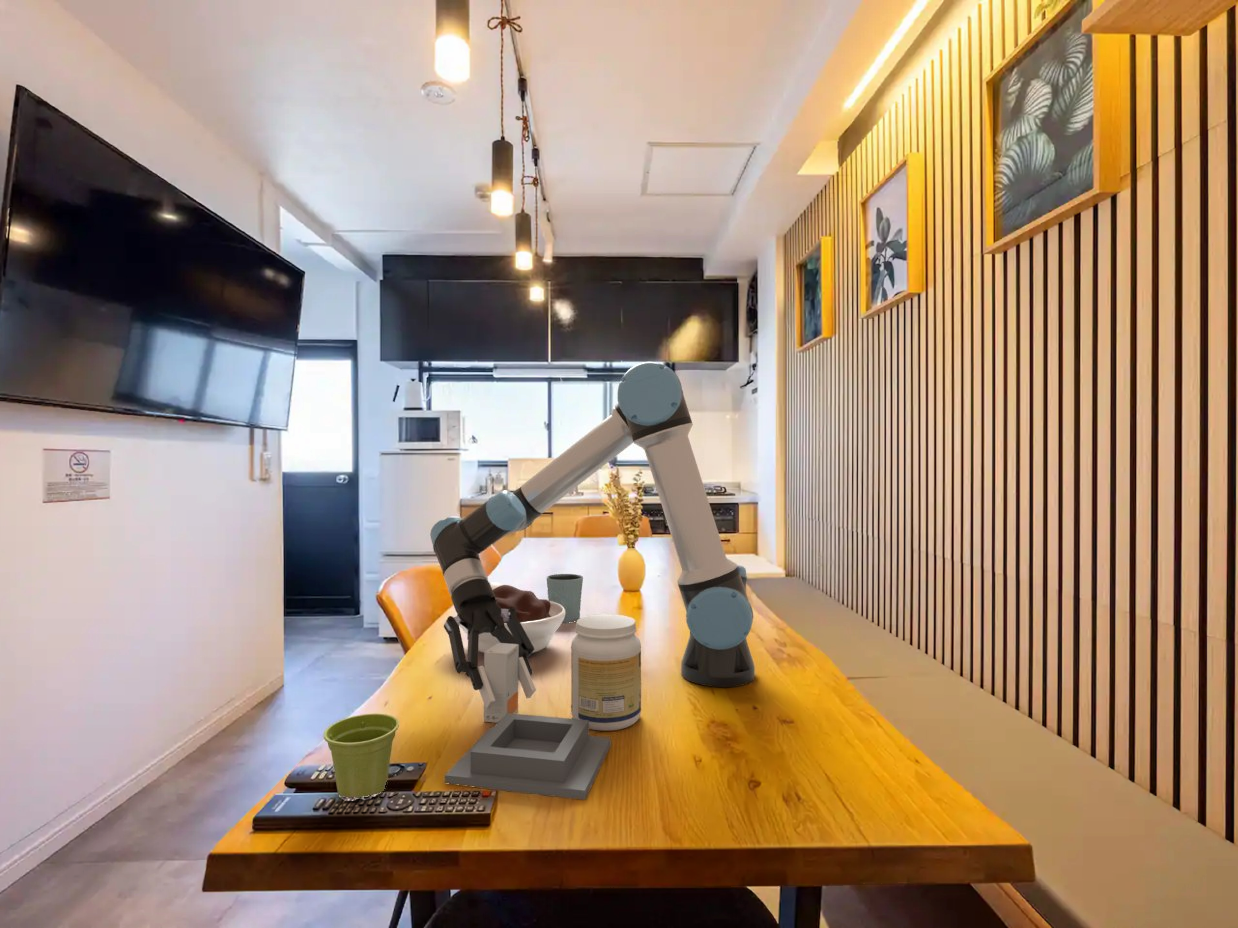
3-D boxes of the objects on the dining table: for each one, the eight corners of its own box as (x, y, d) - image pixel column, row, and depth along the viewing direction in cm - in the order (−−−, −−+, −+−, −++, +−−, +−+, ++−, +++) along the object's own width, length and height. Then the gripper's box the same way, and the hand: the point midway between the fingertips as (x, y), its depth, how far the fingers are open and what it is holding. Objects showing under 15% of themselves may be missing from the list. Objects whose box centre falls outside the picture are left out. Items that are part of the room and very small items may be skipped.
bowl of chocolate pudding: (576, 638, 157) (576, 578, 157) (548, 671, 132) (548, 600, 132) (482, 633, 161) (482, 574, 161) (437, 664, 137) (437, 595, 137)
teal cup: (542, 622, 171) (542, 579, 171) (552, 614, 181) (552, 572, 181) (578, 624, 170) (578, 580, 170) (586, 615, 180) (586, 573, 180)
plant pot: (353, 818, 78) (353, 749, 78) (309, 796, 83) (308, 731, 83) (413, 785, 86) (413, 722, 86) (370, 767, 91) (370, 708, 91)
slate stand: (610, 745, 98) (610, 718, 98) (585, 799, 83) (585, 767, 83) (490, 733, 102) (491, 708, 102) (444, 783, 87) (444, 753, 87)
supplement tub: (654, 723, 106) (654, 624, 106) (590, 739, 100) (591, 633, 100) (619, 699, 117) (619, 608, 117) (559, 712, 111) (559, 616, 111)
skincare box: (506, 724, 106) (506, 653, 106) (483, 722, 107) (483, 652, 107) (519, 710, 112) (519, 643, 112) (496, 708, 113) (496, 641, 113)
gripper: (509, 593, 127) (552, 696, 115) (412, 607, 115) (449, 725, 102) (523, 570, 123) (569, 675, 111) (423, 583, 111) (463, 702, 98)
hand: (511, 699), depth 107 cm, fingers closed on skincare box, 7 cm apart
